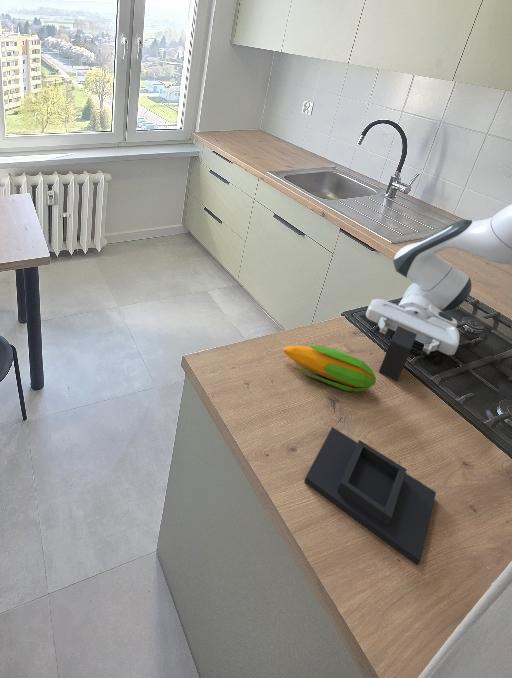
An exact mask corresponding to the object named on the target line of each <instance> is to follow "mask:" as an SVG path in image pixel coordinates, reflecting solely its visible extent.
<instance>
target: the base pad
mask: <svg viewBox="0 0 512 678" xmlns="http://www.w3.org/2000/svg"><path fill="white" fill-rule="evenodd" d="M406 472H407V469H406V468H405V467H404V466H402V465H400V464H399V463H397V462H396V461H394V460H392V459H391V458H390V457H388V456H386V455H385V454H383V453H382V452H380V451H378V450H376V449H375V448H373V447H371V446H370V445H368V444H367V443H365V442H363V440H360V439H359V440H358V442H357V441H355V440H354V439H352V438H351V437H349V436H347V435H346V434H345V433H343V432H341V431H339V430H338V429H336V428H335V427H333V426H331V428H330V430H329V432H328V434H327V436H326V438H325V440H324V442H323V443H322V445H321V447H320V449H319V451H318V453H317V455H316V457H315V459H314V461H313V462H312V465H311V466H310V468H309V470H308V471H307V473H306V475H305V477H304V481H303V483H304V484H306V485H307V486H309V487H310V488H312V489H313V490H314V491H316V492H317V493H318V494H319V495H320V496H322V497H323V498H325V499H326V500H328V501H329V502H330V503H331V504H333V505H334V506H336V507H337V508H338V509H340V510H341V511H342V512H344V513H345V514H347V516H349V517H350V518H352V519H354V520H355V521H356V522H357V523H359V524H360V525H362V526H363V527H364V528H366V529H367V530H368V531H370V532H371V533H373V534H374V535H375V536H376V537H377V538H379V539H380V540H382V541H383V542H384V543H386V544H387V545H389V546H390V547H391V548H393V549H394V550H396V551H397V552H399V554H401V555H402V556H404V557H405V558H406V559H408V560H409V561H410V562H412V563H413V564H415V565H416V566H418V565H419V564H420V561H421V560H422V555H423V552H424V551H423V550H424V545H425V541H426V537H427V533H428V530H429V529H428V528H429V525H430V520H431V515H432V512H433V507H434V502H435V500H436V499H435V498H436V494H437V493H436V491H435V490H433V489H432V488H430V487H429V486H427V485H425V484H424V483H422V482H421V481H419V480H417V479H416V478H414V477H413V476H411V475H409V474H408V473H406Z"/></svg>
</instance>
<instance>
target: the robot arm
mask: <svg viewBox="0 0 512 678" xmlns="http://www.w3.org/2000/svg"><path fill="white" fill-rule="evenodd" d="M446 249H455V250H459V251H463V252H466V253H468V254H472V255H474V256H477V257H479V258H482V259H484V260H486V261H489V262H491V263H496V264H500V265H512V203H510V204H509V205H507V206H505V207H503V208H502V209H501V210H499V211H498V212H497V213H495V214H494V215H492V216H491V217H488V218H483V219H477V220H472V219H460V220H458V221H456V222H452V223H451V224H449V225H446V226H445V227H443V228H440V229H438V230H437V231H435V232H433V233H431V234H429V235H427V236H425V237H423V238H421V239H418V240H416V241H413V242H411V243H408V244H407V245H404V246H402V247H401V248H400V249H398V251H397V252H396V253H395V255H394V257H393V258H392V262H393V266H394V269H395V272H396V273H398V274H400V275H401V276H403V277H404V278H405V279H409V281H411V282H412V283H411V284H410V285H409V286H408V288H407V289H406V290H405V292H404V294H403V296H402V298H401V300H400V302H399V303H398V304H395V303H393V302H390V301H389V300H387V299H383V298H372V299H371V301H370V304H369V305H368V307H367V310H366V312H365V317H366V318H367V320H369V321H370V322H371V321H372V322H374V323H376V324H377V326H378V327H379V333H381V334H383V335H385V336H386V335H387V332H388V329H389V330H392V331H394V332H395V331H396V329H397V327H398V326H400V327H402V328H404V329H406V330H409V331H411V332H413V333H415V334H417V335H416V338H415V340H414V341H416V342H418V343H421V344H422V345H423V347H422V350H421V352H422V353H424V354H426V355H430V353H431V352H437V351H438V352H440V353H442V354H444V355H447V356H454V355H455V354H456V352H457V350H458V347H459V345H460V332H459V329H458V328H457V327H458V321H457V319H455V318H453V317H452V316H450V315H448V314H446V313H445V311H451V310H454V309H456V308H458V307H460V306H461V305H462V304H463V303H464V302H465V301H466V300H467V299H468V297H469V295H470V294H471V291H472V280H471V277H470V276H468V275H467V274H466V273H464V272H463V271H462V270H460V269H459V268H457V267H456V266H454V265H453V264H451V263H449V262H448V261H446V260H444V258H442V257H441V256H439V255H438V254H437V253H440V252H442V251H444V250H446Z"/></svg>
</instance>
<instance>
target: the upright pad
mask: <svg viewBox="0 0 512 678" xmlns="http://www.w3.org/2000/svg"><path fill="white" fill-rule="evenodd" d="M416 335H417V334H415V333H413V332H411V331H409V330H406V329H404V328H402V327H400V326H398V327H397V329H396V331H394V334H393V335H392V337H391V340H390V342H389V345H388V347H387V350H386V352H385V355H384V358H383V360H382V363H381V366H380V367H379V369H378V373H380V374H382V375H383V376H386V377H388V379H391V380H393V381H395V382H399V379H400V377H401V374H402V372H403V369H404V366H405V364H406V362H407V360H408V357H409V355H410V352H411V349H412V347H413V345H414V343H415V341H416V340H415V338H416Z"/></svg>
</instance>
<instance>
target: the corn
mask: <svg viewBox="0 0 512 678" xmlns="http://www.w3.org/2000/svg"><path fill="white" fill-rule="evenodd" d="M282 349H283V354H284V355H286V356H287V357H288V358H289V359H291V360H292V361H293V362H295V364H297V365H299V366H301V367H303V368H305V369H307V370H309V371H311V372H313V373H315V374H317V375H319V376H317V375H314V374H312V373H309V372H306V371H304V370H302V369H300V368H297V367H293V369H294V370H295V371H298V372H300V373H301V374H304V375H306V376H309V377H311V378H313V379H316V380H317V381H320V382H323V383H326V384H328V385H329V386H333V387H335V388H337V389H340V390H343V391H345V392H363V391H364V390H365V391H366V390H367V389H370V388H372V387H373V386H374V385H376V382H377V381H376V380H377V379H376V378H377V377H376V375H375V373H374V371H373V369H372V368H371V367H370V366H369V365H368V364H367V363H366V362H365V361H364V360H363V359H359V358H357V357H355V356H353V355H350V354H348V353H345V352H343V351H340V350H338V349H335V348H331V347H328V346H321V345H313V344H312V345H310V346H307V345H292V344H291V345H288V346H285V347H283V348H282ZM320 376H322V377H320ZM323 377H324V378H323Z"/></svg>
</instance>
